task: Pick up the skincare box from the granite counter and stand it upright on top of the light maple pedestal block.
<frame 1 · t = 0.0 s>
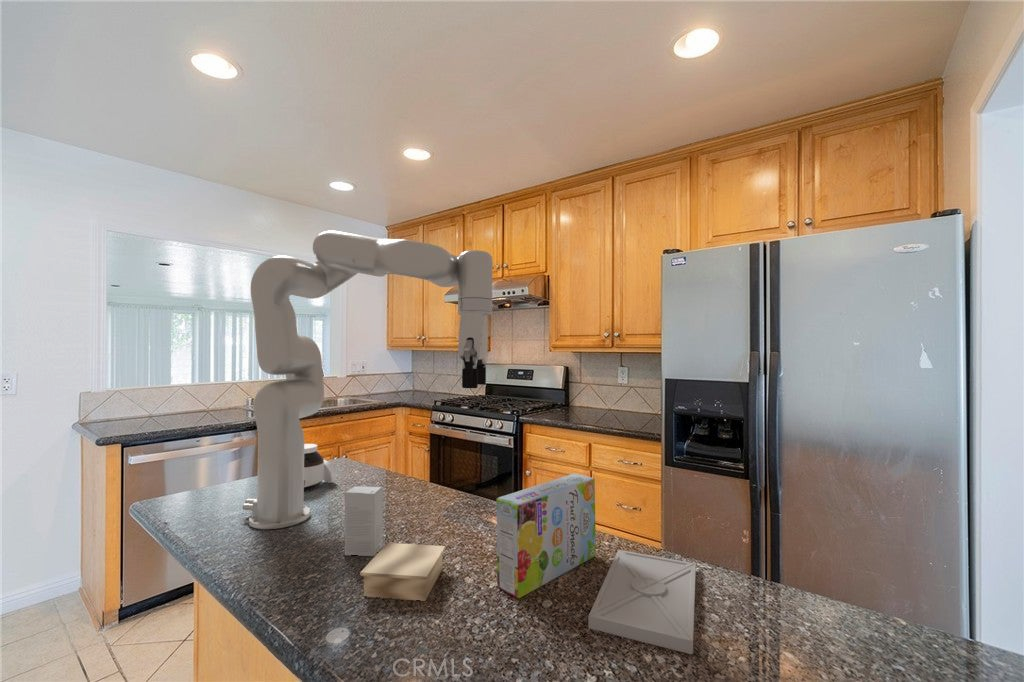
hand: (474, 386, 98), 31 cm above the countertop, tool pointing down, fingers open, 9 cm apart
pedestal: (405, 582, 75), on the countertop
spread jar: (310, 486, 127), on the countertop
envelope: (648, 600, 72), on the countertop
skincare box: (363, 552, 86), on the countertop
snack box: (549, 572, 79), on the countertop
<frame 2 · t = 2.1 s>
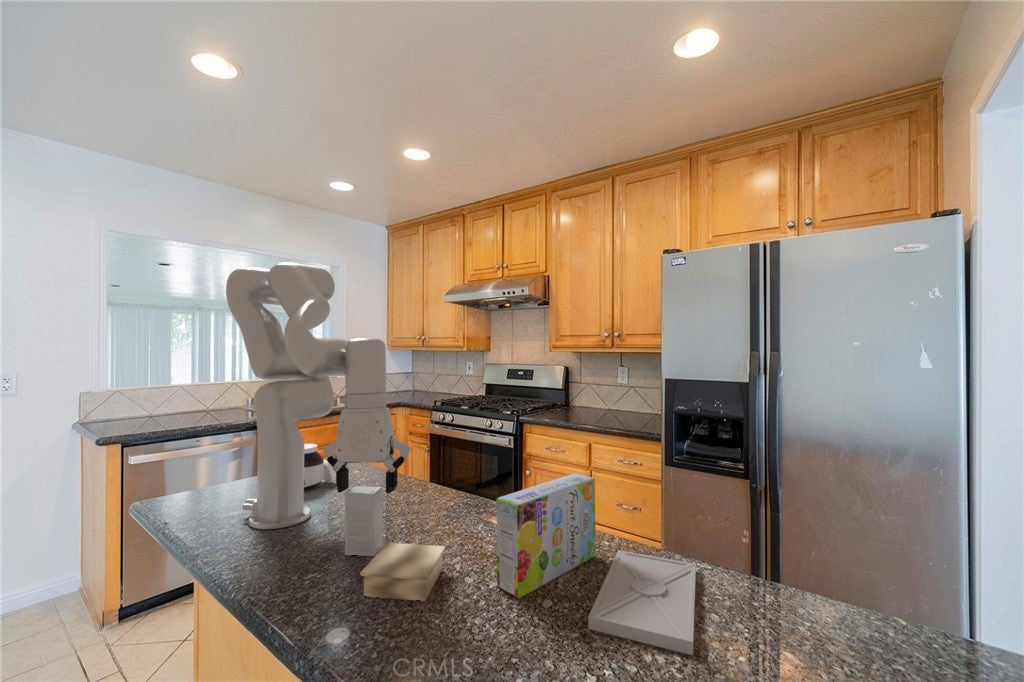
hand: (366, 490, 86), 12 cm above the countertop, tool pointing down, fingers open, 9 cm apart
nothing on the countertop moved.
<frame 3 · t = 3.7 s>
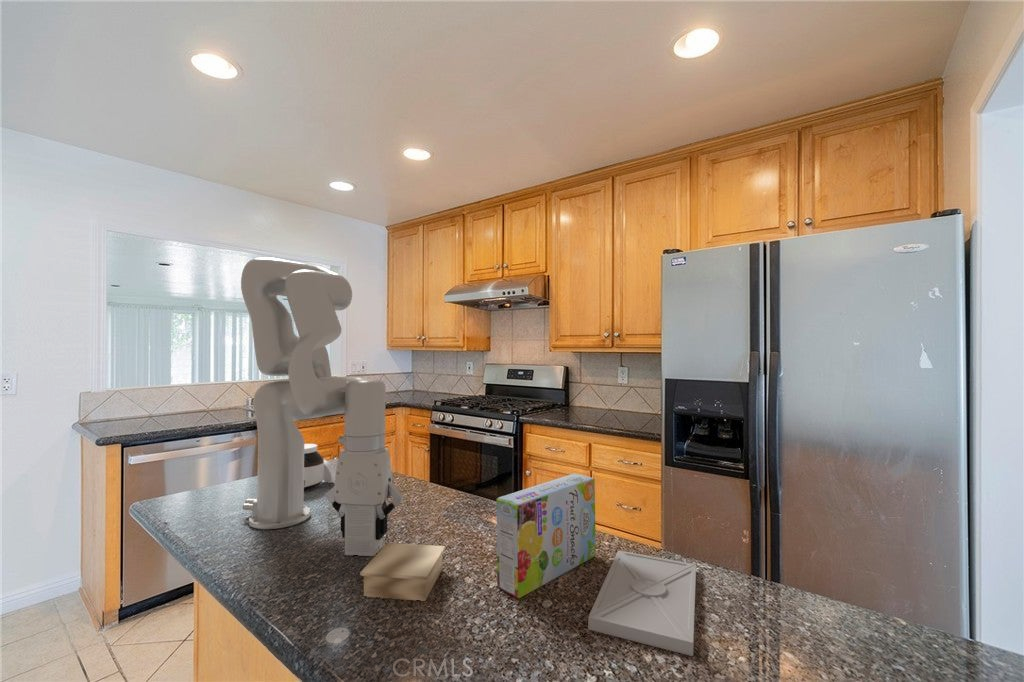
hand: (363, 535, 86), 3 cm above the countertop, tool pointing down, fingers closed on skincare box, 6 cm apart
skincare box: (363, 552, 86), on the countertop, touching gripper
everything else where it was.
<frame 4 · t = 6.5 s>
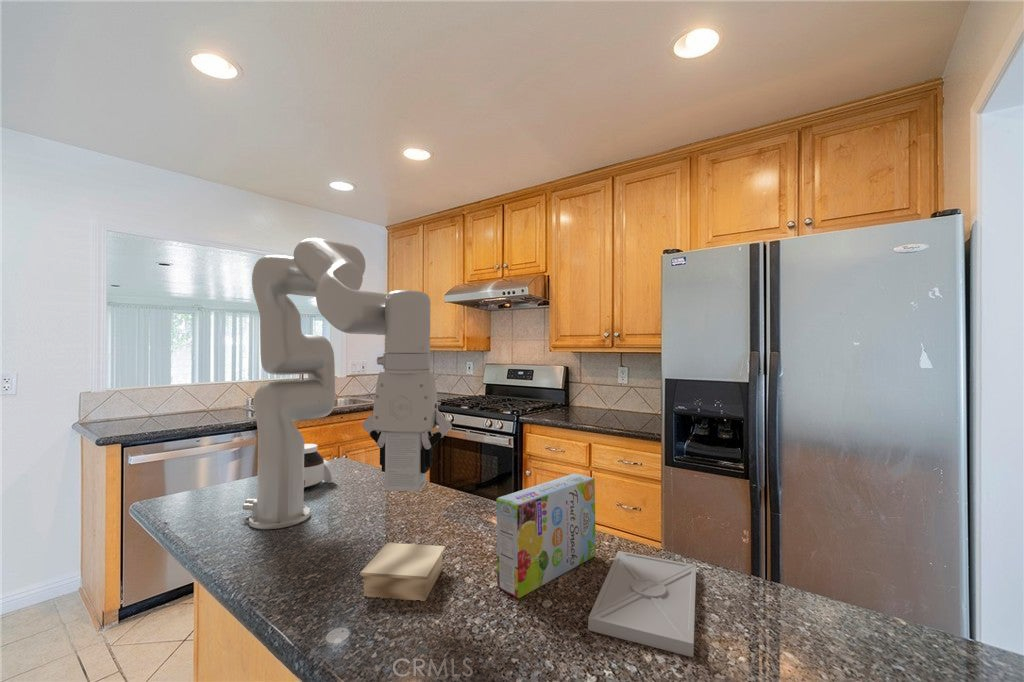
hand: (406, 469, 75), 19 cm above the countertop, tool pointing down, fingers closed on skincare box, 6 cm apart
skincare box: (405, 488, 75), point 16 cm above the countertop, touching gripper
everything else where it was.
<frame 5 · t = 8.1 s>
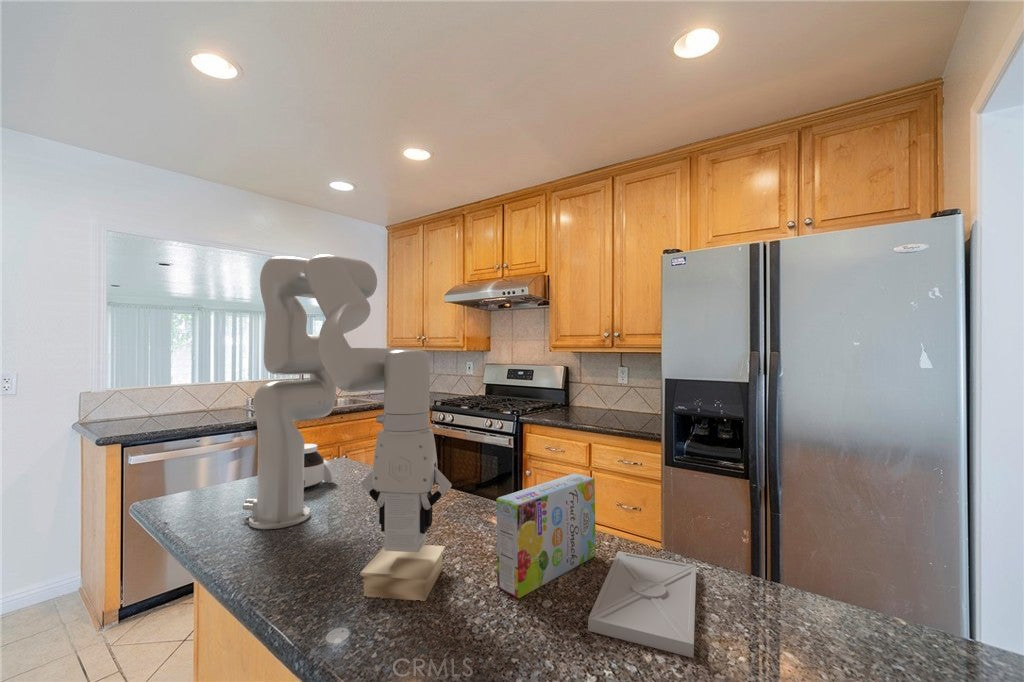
hand: (405, 528, 75), 9 cm above the countertop, tool pointing down, fingers closed on skincare box, 6 cm apart
skincare box: (405, 547, 75), point 6 cm above the countertop, touching gripper
everything else where it was.
when the fingers open (8 cm above the countertop, at t = 9.2 s): skincare box stays where it is, resting on pedestal.
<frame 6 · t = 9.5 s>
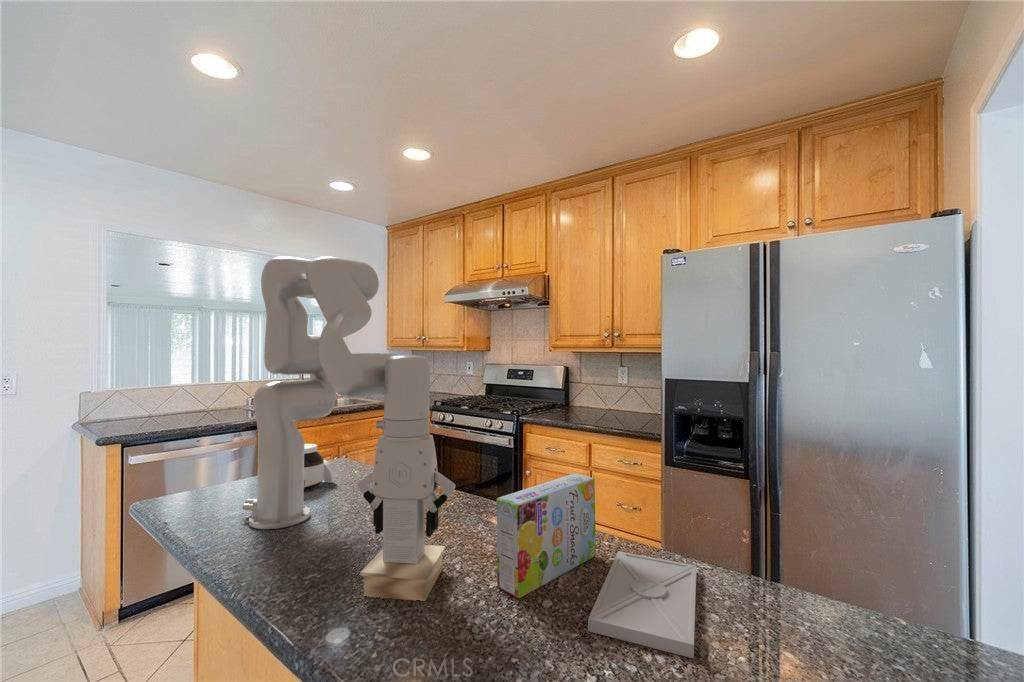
hand: (405, 531, 75), 8 cm above the countertop, tool pointing down, fingers open, 8 cm apart
skincare box: (403, 559, 75), point 4 cm above the countertop, touching pedestal
everything else where it was.
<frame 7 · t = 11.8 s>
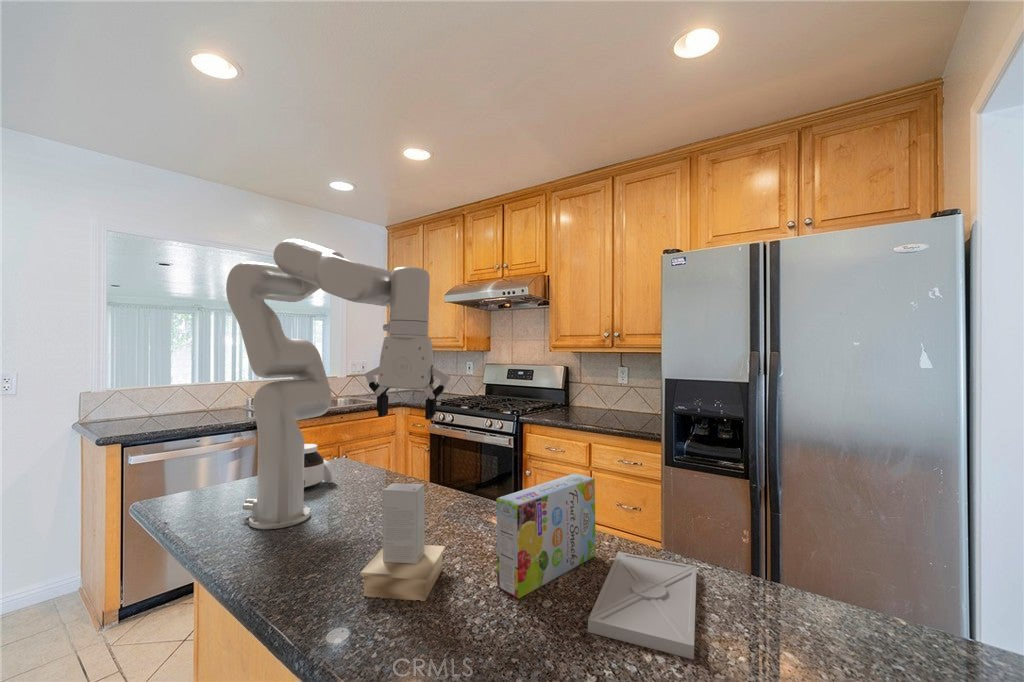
hand: (406, 417, 88), 26 cm above the countertop, tool pointing down, fingers open, 9 cm apart
nothing on the countertop moved.
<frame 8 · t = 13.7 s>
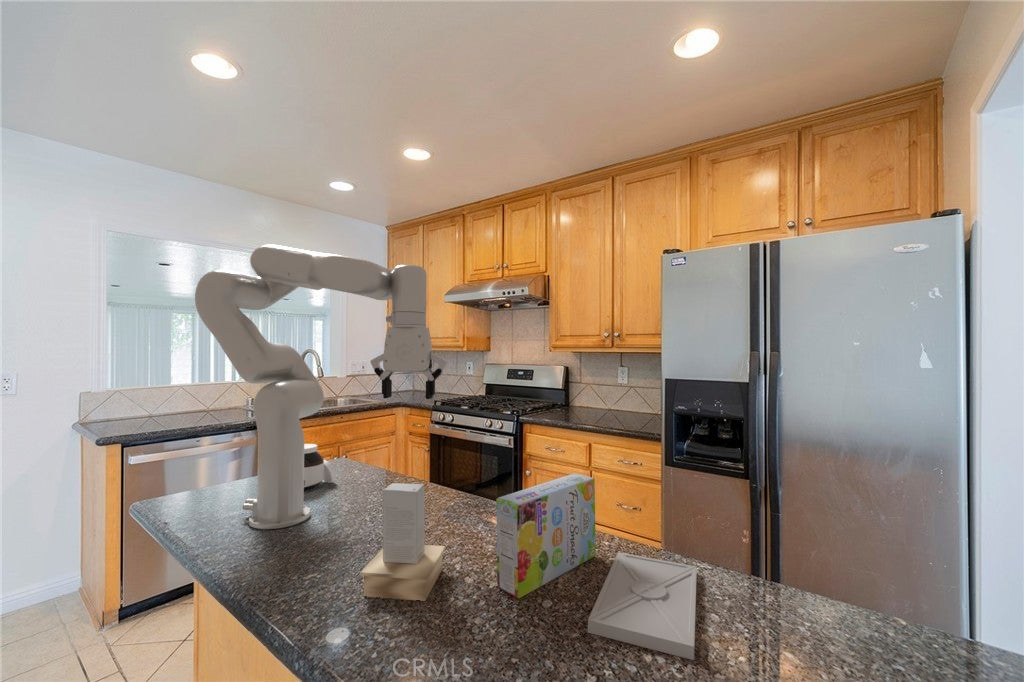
hand: (408, 398, 99), 28 cm above the countertop, tool pointing down, fingers open, 9 cm apart
at the end: skincare box inside the target area on the pedestal (0.3 cm from its centre), point 3.8 cm above the pedestal's base; skincare box tilted 0°; the gripper is holding nothing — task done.
